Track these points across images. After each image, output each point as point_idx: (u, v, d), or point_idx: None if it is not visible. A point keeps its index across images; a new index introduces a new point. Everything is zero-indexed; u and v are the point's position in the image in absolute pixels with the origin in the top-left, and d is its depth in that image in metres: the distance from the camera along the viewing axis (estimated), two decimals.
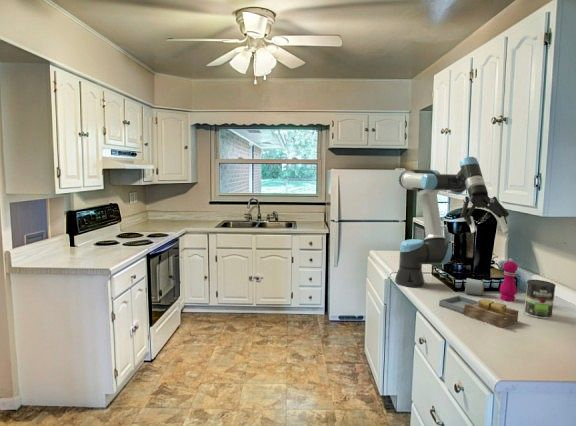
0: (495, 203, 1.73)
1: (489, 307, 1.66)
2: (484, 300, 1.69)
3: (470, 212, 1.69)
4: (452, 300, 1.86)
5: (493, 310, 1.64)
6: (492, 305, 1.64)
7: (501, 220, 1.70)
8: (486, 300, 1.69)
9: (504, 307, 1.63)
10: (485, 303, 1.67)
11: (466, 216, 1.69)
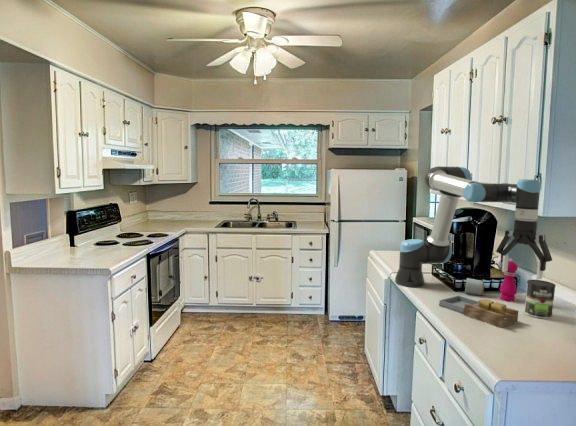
0: None
1: (489, 307, 1.66)
2: (484, 300, 1.69)
3: (504, 250, 1.60)
4: (452, 300, 1.86)
5: (493, 310, 1.64)
6: (492, 305, 1.64)
7: None
8: (486, 300, 1.69)
9: (504, 307, 1.63)
10: (485, 303, 1.67)
11: None
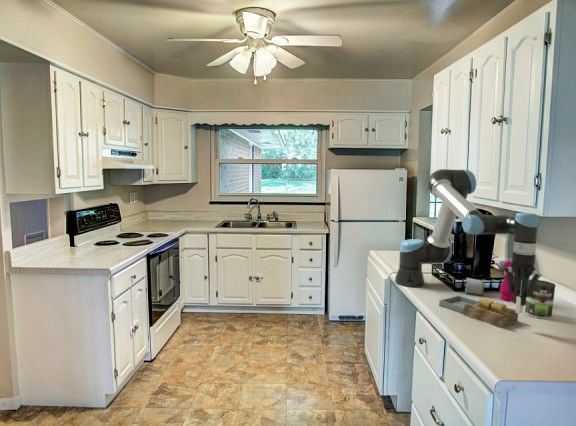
0: None
1: (489, 307, 1.66)
2: (484, 300, 1.69)
3: (515, 290, 1.57)
4: (452, 300, 1.86)
5: (493, 310, 1.64)
6: (492, 305, 1.64)
7: None
8: (486, 300, 1.69)
9: (504, 307, 1.63)
10: (485, 303, 1.67)
11: None
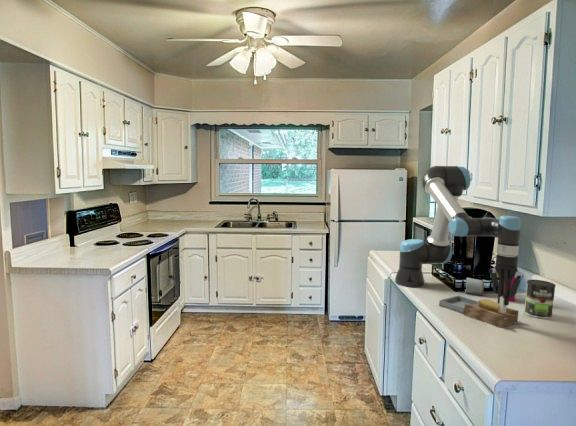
0: None
1: None
2: (484, 300, 1.69)
3: (499, 290, 1.63)
4: (452, 300, 1.86)
5: (491, 309, 1.65)
6: (490, 304, 1.65)
7: None
8: (486, 300, 1.69)
9: None
10: (485, 303, 1.67)
11: (497, 294, 1.64)
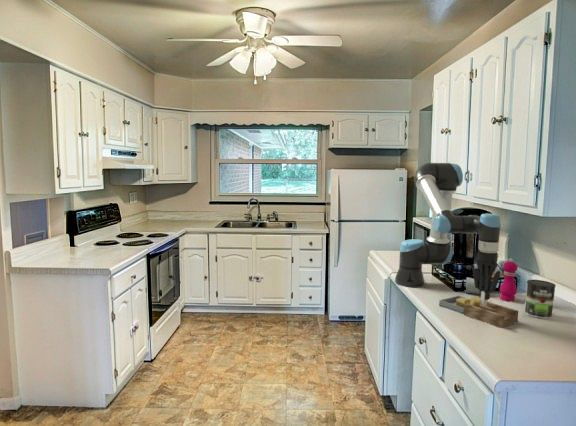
0: None
1: (461, 299, 1.77)
2: None
3: (480, 285, 1.69)
4: (452, 300, 1.86)
5: (472, 303, 1.72)
6: (471, 299, 1.72)
7: None
8: None
9: None
10: (457, 302, 1.78)
11: (479, 289, 1.70)
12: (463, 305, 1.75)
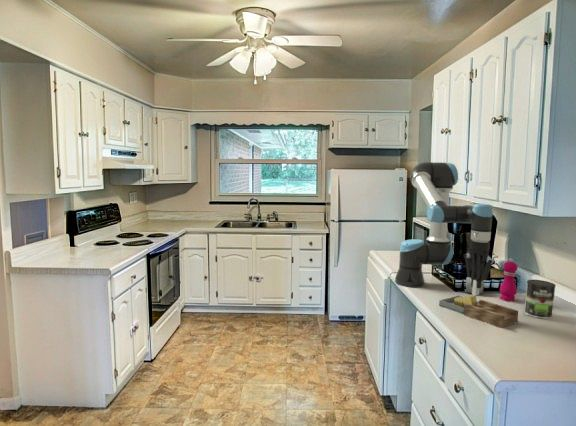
0: None
1: (459, 299, 1.78)
2: None
3: (472, 274, 1.72)
4: (452, 300, 1.86)
5: (465, 303, 1.74)
6: (463, 298, 1.75)
7: None
8: None
9: (474, 298, 1.74)
10: (455, 301, 1.78)
11: (471, 278, 1.73)
12: (461, 305, 1.76)
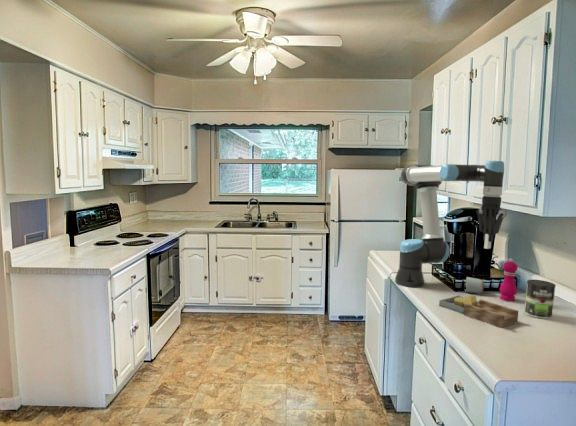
0: None
1: (459, 299, 1.78)
2: None
3: (484, 228, 1.80)
4: (452, 300, 1.86)
5: (465, 303, 1.74)
6: (463, 298, 1.75)
7: None
8: None
9: (474, 298, 1.74)
10: (455, 301, 1.78)
11: (483, 232, 1.82)
12: (461, 305, 1.76)
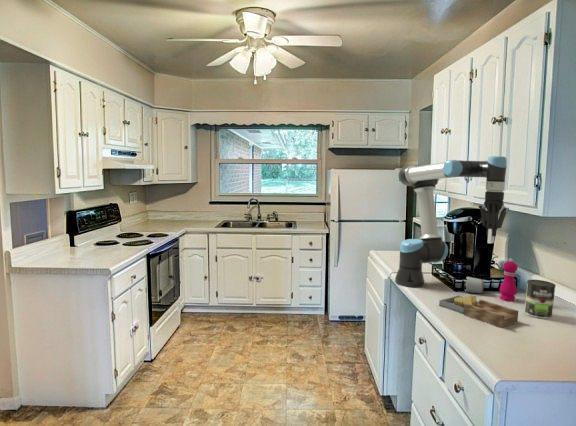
0: None
1: (459, 299, 1.78)
2: None
3: (487, 223, 1.83)
4: (452, 300, 1.86)
5: (465, 303, 1.74)
6: (463, 298, 1.75)
7: None
8: None
9: (474, 298, 1.74)
10: (455, 301, 1.78)
11: (486, 227, 1.84)
12: (461, 305, 1.76)
